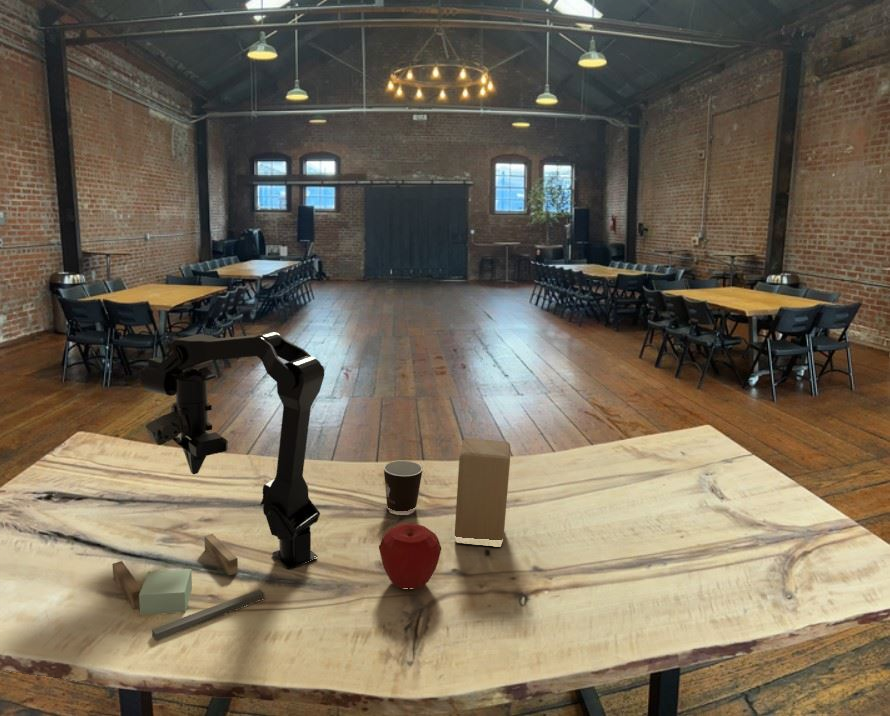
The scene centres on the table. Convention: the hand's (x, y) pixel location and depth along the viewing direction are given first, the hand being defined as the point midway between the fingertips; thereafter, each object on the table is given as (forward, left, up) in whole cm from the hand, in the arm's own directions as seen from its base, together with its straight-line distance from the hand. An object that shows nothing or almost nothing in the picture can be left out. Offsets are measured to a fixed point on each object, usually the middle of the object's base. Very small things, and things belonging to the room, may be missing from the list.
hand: (194, 473), depth 136 cm
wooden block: (-37, -45, -12) cm, 60 cm away
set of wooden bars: (-20, +10, -12) cm, 25 cm away
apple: (-42, -22, -12) cm, 49 cm away
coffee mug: (-17, -40, -12) cm, 45 cm away
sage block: (-21, +14, -12) cm, 28 cm away
